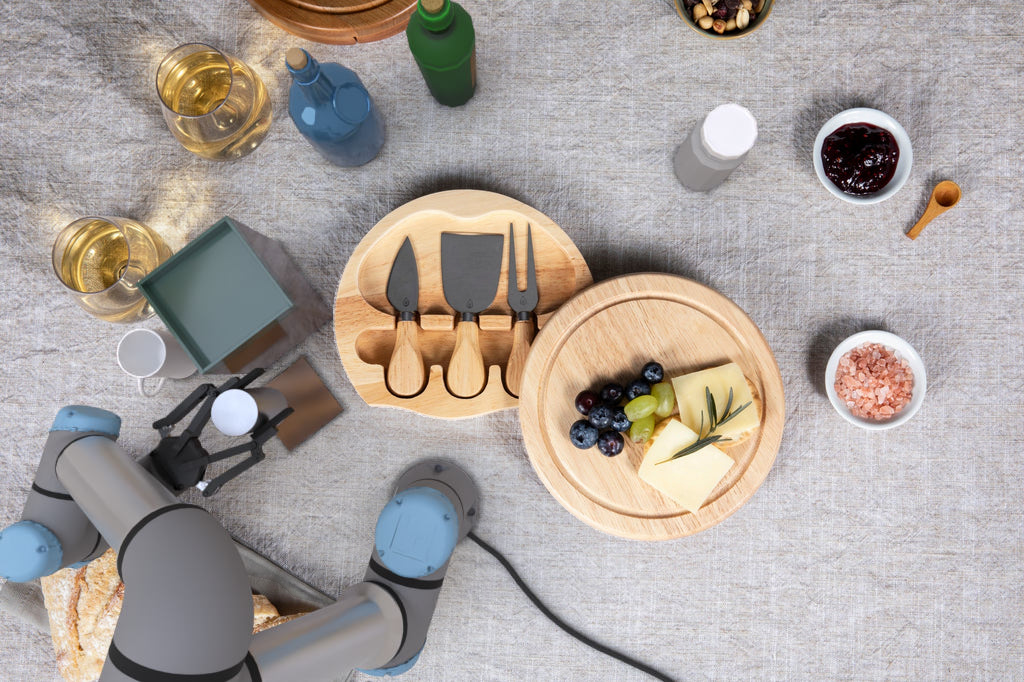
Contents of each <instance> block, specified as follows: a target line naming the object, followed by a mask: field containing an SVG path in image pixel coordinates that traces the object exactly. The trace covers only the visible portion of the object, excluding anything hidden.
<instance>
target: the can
mask: <svg viewBox="0 0 1024 682" xmlns="http://www.w3.org/2000/svg"><path fill="white" fill-rule="evenodd" d="M285 408H288V405H287V401H286V398H285V397H284V395H283V394H282V393H281V392H280V391H279V390H277V389H275V388H272V387H264V386H260V387H245V388H243V389H231V390H227V391H225V392H223V393H221V394H220V395H219V396H218V397H217V398H216V399H215V401H214V403H213V405H212V409H211V422H212V424H213V425H214V427H215V428H216V429H217V430H218V431H219V432H220V433H221V434H223V435H225V436H228V437H241V436H245V435H248V434H250V435H251V434H252V433H254V432H255V431H256V430H258V429H259V428H260V427H261V426H263V425H264V424H265V423H267V422H268V421H269V420H271V419H272V418H273V417H275V416H276V415H277V414H279V413H280V412H281V411H282V410H284V409H285ZM282 422H283V421H281V422H280V423H279V424H281V423H282ZM279 424H277V425H276V426H278V425H279Z"/></svg>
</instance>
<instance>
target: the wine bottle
mask: <svg viewBox="0 0 1024 682" xmlns="http://www.w3.org/2000/svg"><path fill="white" fill-rule="evenodd" d="M284 61H285V67H286V69H287V71H288V73H289V76H290V78H291V79H292V83H291V85H290V87H289V89H288V90H287V113H288V115H289V117H290V119H291V121H292V123H293V124H294V125H295V127H296V129H297V130H298V132H299V134H300V135H301V136H302V137H303V138H304V139H305V140H306V141H307V142H308V143H309V144H310V145H311V147H312V148H313V149H314V150H315V151H316V152H317V153H318V154H319V155H320V156H321V157H322V158H323V159H325V160H326V161H327V162H328V161H329V162H330V163H332V164H333V165H335V166H337V167H339V168H358V167H359V168H360V167H361V166H363V165H365V164H366V163H368V162H369V161H372V160H373V159H374V158H376V157H377V155H378V154H379V152H380V150H381V148H382V146H383V145H384V143H385V141H386V122H385V119H384V117H383V116H382V113H381V112H380V110H379V108H378V107H377V104H376V103H375V101H374V99H373V97H372V95H371V94H370V92H369V90H368V88H367V87H366V84H364V82H363V80H362V79H361V77H360V75H359V74H358V73H357V71H355V70H353V69H352V68H349V67H347V66H346V65H344V64H341V63H339V62H338V61H330V62H327V61H325V62H323V61H322V62H319V61H318V60H317V59H316V58H315V57H314V56H313V55H312V54H311V53H310V52H309V51H307V50H306V49H304V48H302V47H290V48H289V49H288V50H287V51H286V52H285V57H284Z"/></svg>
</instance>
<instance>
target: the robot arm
mask: <svg viewBox="0 0 1024 682" xmlns="http://www.w3.org/2000/svg"><path fill="white" fill-rule="evenodd" d="M266 372H267V371H266V370H265V369H263V368H255V369H253V370H252V371H251V372H249V373H248V374H244V376H243V377H240V376H232V377H230V378H229V379H228V380H226V381H225V382H224V383H222V384H221V385H219V386H218V387H217V386H215V384H214V383H213V382H211V383H210V382H209V383H207V382H206V383H201V384H200V385H198V386H197V388H195V389H194V390H193V391H191V393H190V394H188V395H187V397H186V398H184V400H182V401H181V402H180V403H179V404H177V406H176V407H175V408H173V410H171V411H170V412H169V413H168V414H167V415H166V416H164V417H163V418H162V417H161V418H160V419H158V420H155V421H154V422H152V424H151V426H152V429H154V430H156V431H157V432H158V434H159V437H160V440H159V442H158V444H157V446H156V447H155V448H153V449H152V450H151V451H149V452H148V453H147V454H146V455H145V456H143V457H142V458H140V459H139V460H138V461H137V459H135V458H134V457H133V456H132V455H130V454H129V453H128V452H127V451H126V450H125V449H124V448H123V447H122V446H121V445H120V444H119V443H118V442H117V441H118V439H119V438H120V435H121V434H120V432H121V428H122V418H121V416H120V415H118V414H117V413H115V412H113V411H111V410H108V409H104V408H100V407H97V406H91V405H85V404H84V405H83V404H69V405H65V406H62V407H61V408H60V409H59V410H58V411H57V413H56V416H55V418H54V420H53V423H52V425H51V427H50V428H49V429H48V437H47V439H46V442H45V445H44V447H43V451H42V454H41V457H40V461H39V464H38V466H37V470H36V473H35V475H34V478H33V482H32V485H31V486H30V489H29V493H28V495H27V498H26V501H25V504H24V506H23V509H22V512H21V515H20V518H19V521H15V522H13V523H11V525H8V526H7V527H4V528H3V529H2V530H1V531H0V577H1V578H3V579H4V580H6V581H9V582H13V583H17V584H21V583H22V584H23V583H29V582H33V581H34V580H37V579H40V578H45V577H49V576H52V575H54V574H55V573H57V572H59V571H61V570H63V569H72V570H79V569H82V568H84V567H86V566H88V565H89V564H91V563H92V562H94V561H95V560H97V559H99V558H101V557H102V556H104V555H105V554H106V552H107V551H109V550H110V549H112V550H113V552H114V553H115V554H116V559H115V565H116V567H115V568H116V571H117V576H118V577H119V580H120V581H121V582H122V584H123V585H124V587H123V589H124V590H123V596H122V603H121V607H120V612H119V614H118V618H117V621H116V624H115V628H114V631H113V635H112V638H111V641H110V644H109V647H108V650H107V653H106V656H105V659H104V663H103V665H102V669H101V672H100V674H99V678H98V681H97V682H333V681H334V680H336V679H338V678H340V677H341V676H344V675H346V674H347V673H349V672H351V671H352V670H357V671H358V672H359V673H362V674H365V675H368V676H371V677H379V678H384V677H385V676H386V675H387V676H389V677H396V676H399V675H403V674H405V673H407V672H408V671H410V670H411V669H412V668H413V667H414V666H415V665H416V664H417V663H418V660H419V659H420V656H421V654H422V652H423V650H424V648H425V646H426V643H427V638H428V632H429V629H430V626H431V623H432V619H433V617H434V613H435V610H436V607H437V605H438V600H439V598H440V594H441V591H442V589H443V584H444V581H445V577H446V575H447V571H448V569H449V565H450V562H451V558H452V556H453V552H454V550H455V548H456V545H457V544H458V543H460V542H461V541H462V540H463V539H464V538H466V537H467V538H469V539H470V540H471V541H473V542H474V543H475V544H477V545H478V546H479V547H480V548H481V549H483V550H484V551H486V552H488V553H489V554H490V555H492V556H493V557H494V558H496V560H498V561H499V563H500V564H501V565H502V566H503V567H504V569H506V571H507V572H508V573H509V575H510V576H511V578H512V579H513V580H514V582H515V583H516V584H517V585H518V587H519V588H520V589H521V590H522V592H524V594H525V595H526V597H528V598H529V600H530V601H531V602H532V603H533V604H534V605H535V607H536V608H537V609H539V610H540V611H541V613H542V614H543V615H544V616H546V618H548V619H549V620H550V621H551V622H552V623H554V624H555V625H556V626H557V627H558V628H560V629H561V630H562V631H564V632H565V633H567V634H568V635H570V636H571V637H573V638H575V639H576V640H578V641H580V642H582V643H584V644H585V645H587V646H588V647H590V648H592V649H594V650H596V651H598V652H601V653H603V654H604V655H607V656H608V657H611V658H613V659H616V660H618V661H620V662H622V663H625V664H626V665H629V666H631V667H633V668H635V669H636V670H640V671H642V672H644V673H646V674H648V675H650V676H652V677H654V678H656V679H658V680H660V681H661V682H675V681H674V680H672V679H671V678H670V677H668V676H667V675H664V674H663V673H661V672H659V671H657V670H655V669H653V668H651V667H649V666H647V665H644V664H642V663H640V662H638V661H636V660H634V659H631V658H630V657H628V656H625V655H623V654H621V653H618V652H616V651H615V650H612V649H609V648H607V647H606V646H603V645H601V644H600V643H597V642H595V641H593V640H591V639H590V638H588V637H586V636H585V635H583V634H581V633H579V632H578V631H576V630H575V629H573V628H571V626H569V625H568V624H566V623H565V622H564V621H562V620H560V619H559V618H558V617H557V616H556V615H555V614H553V613H552V612H551V611H550V610H549V609H548V608H547V607H546V606H545V605H544V603H542V602H541V600H540V599H538V598H537V596H536V595H535V594H534V593H533V591H531V589H530V588H529V587H528V586H527V585H526V583H525V582H524V581H523V580H522V578H521V577H520V575H519V574H518V573H517V572H516V570H515V569H514V567H513V566H512V565H511V564H510V562H509V561H508V560H507V559H506V558H505V557H504V556H503V555H502V554H501V553H500V552H498V551H497V550H496V549H495V548H494V547H492V546H490V544H488V543H486V542H485V541H484V540H482V539H481V538H480V537H479V536H477V535H476V534H475V533H473V532H472V531H471V530H472V529H473V526H474V524H475V523H476V520H477V517H478V513H479V496H478V491H477V488H476V486H475V483H474V482H473V479H472V478H471V477H470V476H469V475H468V474H467V473H466V471H465V470H463V469H462V468H460V466H457V465H456V464H454V463H451V462H449V461H446V460H445V461H444V460H439V459H438V460H436V459H435V460H434V459H433V460H427V461H426V460H425V461H423V462H419V463H417V464H415V465H414V466H411V467H410V468H409V469H408V470H406V471H405V472H404V473H403V474H402V475H401V476H400V477H399V479H398V480H397V482H396V484H395V486H394V487H393V490H392V493H391V498H390V499H389V501H388V502H387V503H385V505H384V507H383V509H382V510H381V512H380V514H379V515H378V518H377V520H376V525H375V529H374V545H373V549H372V551H371V555H370V558H369V561H368V564H367V568H366V571H365V573H364V577H363V580H362V581H360V582H357V583H354V584H353V585H350V586H348V587H347V588H345V590H344V591H343V592H341V594H340V595H339V596H338V598H337V599H336V601H335V603H333V604H330V605H327V606H325V607H321V608H319V609H316V610H314V611H311V612H309V613H306V614H303V615H300V616H298V617H295V618H292V619H290V620H287V621H285V622H282V623H279V624H275V625H273V626H270V627H268V628H264V629H262V630H259V631H257V632H254V625H255V608H254V607H255V605H254V596H253V592H252V587H251V581H250V578H249V574H248V571H247V568H246V565H245V562H244V560H243V558H242V556H241V554H240V553H241V552H240V551H239V549H238V547H237V545H236V544H235V541H234V540H233V538H232V536H231V534H230V533H229V532H228V531H227V529H226V527H225V526H224V525H223V523H222V522H220V521H219V519H217V518H216V517H215V516H214V515H213V514H212V513H211V512H210V511H209V510H207V509H206V508H204V507H203V506H201V505H199V504H196V503H193V502H186V501H185V502H184V501H181V500H180V498H179V496H180V495H182V494H183V493H184V492H186V491H187V490H188V489H190V488H195V487H196V488H197V489H198V490H199V491H201V496H202V497H203V498H205V499H206V498H210V497H212V496H215V495H217V494H218V492H219V491H220V490H221V489H222V488H223V486H224V485H225V484H227V483H228V482H230V481H231V480H233V479H235V478H237V477H238V476H239V475H241V474H243V473H244V472H246V471H247V470H250V469H251V468H253V467H254V466H256V465H258V464H259V463H261V462H262V461H264V460H265V459H266V457H267V456H266V455H267V454H266V453H265V452H264V449H263V447H264V444H266V443H267V442H269V440H271V439H272V438H274V437H275V436H277V433H278V431H279V430H278V428H277V427H276V425H277V424H279V423H280V422H281V421H283V420H284V419H285V418H287V417H288V416H289V415H291V414H292V413H293V412H294V411H295V410H294V409H293V408H292V407H289V408H285V409H284V410H282V411H281V412H280V413H279V414H277V415H276V416H275V417H273V418H272V419H271V420H269V421H268V422H267V423H265V424H264V425H263V426H261V427H260V428H259V429H258V430H256V431H255V432H254V433H250V435H249V437H250V439H252V440H251V441H248V442H244V443H241V444H238V445H235V446H233V447H232V446H231V447H230V448H226V449H223V450H220V451H217V452H214V453H211V454H210V452H208V450H207V449H205V447H203V445H202V442H201V441H200V439H199V438H200V437H201V435H202V433H203V432H202V431H203V430H204V428H205V427H206V426H207V425H208V423H209V421H210V420H211V419H212V417H211V409H212V405H213V403H214V401H215V399H216V398H217V397H218V396H219V395H220V394H221V393H223V392H225V391H227V390H231V389H243V388H247V387H248V386H249V385H251V384H252V383H253V382H255V381H256V380H257V379H259V378H260V377H261V376H262V375H264V374H265V373H266ZM202 402H203V403H202ZM201 403H202V404H201ZM199 404H201V406H200V408H199V409H198V410H197V412H196V413H195V415H194V417H193V418H192V419H191V421H190V423H189V424H188V426H187V427H186V428H185V429H183V431H182V433H181V434H180V435H172V432H173V431H174V430H175V428H176V424H178V423H180V422H181V421H182V420H183V419H185V418H186V416H188V415H189V414H190V413H191V412H192V411H193V410H195V408H196V407H197V406H198V405H199ZM247 452H250V456H248V457H247V458H246V459H243V460H242V461H240V462H238V463H237V464H236V465H234V466H232V467H231V468H229V469H228V470H226V471H225V472H223V473H221V474H219V475H218V476H216V477H215V478H209V479H205V480H204V478H205V475H206V472H207V469H208V466H209V465H210V464H213V463H216V462H221V461H223V460H226V459H228V458H232V457H234V456H238V455H241V454H244V453H247Z"/></svg>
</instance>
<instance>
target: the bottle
mask: <svg viewBox="0 0 1024 682" xmlns="http://www.w3.org/2000/svg"><path fill="white" fill-rule="evenodd" d="M405 29H406V30H405V34H406V38H407V43H408V48H409V50H410V53H411V55H412V57H413V59H414V61H415V63H416V65H417V67H418V69H419V72H420V73H421V75H422V78H423V79H424V82H425V84H426V86H427V88H428V90H429V92H430V94H431V96H432V97H433V98H434V99H435V101H437V102H438V103H439V104H440V105H441V106H444V107H445V106H446V107H448V108H456V107H459V106H465V104H467V103H468V102H469V101H470V100H471V99H472V98H473V97H474V95H475V92H476V89H477V85H478V84H477V51H476V47H477V45H476V31H475V27H474V22H473V18H472V15H470V13H468V11H467V10H466V9H465V8H464V7H463V6H462V5H461V4H460V3H458V2H456V1H452V0H417V2H416V10H414V11H413V13H411V14H410V17H409V19H408V23H407V26H406V28H405Z"/></svg>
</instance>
